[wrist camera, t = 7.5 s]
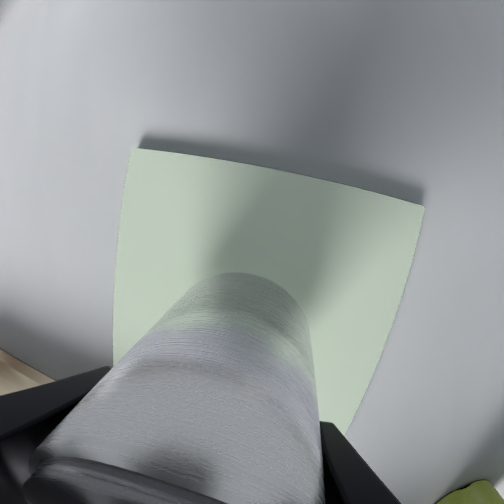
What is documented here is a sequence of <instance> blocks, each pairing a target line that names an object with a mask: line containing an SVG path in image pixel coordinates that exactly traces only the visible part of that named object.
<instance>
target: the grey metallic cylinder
mask: <svg viewBox="0 0 504 504" xmlns="http://www.w3.org/2000/svg"><path fill="white" fill-rule="evenodd" d="M28 469H29V473H30V477H29V478H28V479H27V480H26V482H25V483H24V485H23V495H24V497H25V500H26V502H27V504H325V490H324V474H323V459H322V446H321V433H320V421H319V410H318V400H317V390H316V380H315V370H314V361H313V352H312V344H311V335H310V329H309V325H308V321H307V319H306V316H305V314H304V312H303V310H302V308H301V307H300V305H299V304H298V303H297V301H296V300H295V299H294V298H293V297H292V296H291V295H290V294H289V293H288V292H287V291H286V290H285V289H283V288H282V287H281V286H279V285H277V284H276V283H274V282H272V281H270V280H268V279H266V278H263V277H260V276H257V275H253V274H248V273H237V272H231V273H222V274H218V275H214V276H211V277H208V278H206V279H204V280H202V281H200V282H198V283H197V284H195V285H194V286H193V287H191V288H190V289H189V290H188V291H187V292H186V293H185V294H184V295H183V296H182V297H181V298H180V299H179V300H178V301H177V302H176V303H175V304H174V305H173V306H172V307H171V308H170V309H169V310H168V311H167V312H166V313H165V314H164V315H163V316H162V317H161V318H160V319H159V320H158V321H157V322H156V323H155V324H154V326H153V327H152V328H151V329H150V330H149V331H148V332H147V333H146V334H145V335H144V336H143V337H142V338H141V339H140V340H139V341H138V342H137V343H136V344H135V345H134V346H133V347H132V348H131V349H130V350H129V351H128V352H127V353H126V354H125V355H124V356H123V357H122V358H121V359H120V360H119V362H118V363H117V364H116V365H115V366H114V367H113V368H112V369H111V370H110V371H109V372H108V373H107V374H106V375H105V376H104V377H103V378H102V379H101V380H100V381H99V382H98V383H97V384H96V386H95V387H94V388H93V389H92V390H91V391H90V392H89V393H88V394H87V395H86V396H85V397H84V398H83V399H82V400H81V401H80V402H79V403H78V404H77V406H76V407H75V408H74V409H73V410H72V411H71V412H70V413H69V414H68V415H67V416H66V417H65V418H64V419H63V420H62V421H61V423H60V424H59V425H58V426H57V427H56V428H55V429H54V430H53V431H52V432H51V433H50V434H49V435H48V436H47V438H46V439H45V440H44V441H43V442H42V443H41V444H40V445H39V446H38V447H37V448H36V449H35V451H34V452H33V453H32V454H31V455H30V458H29V461H28Z"/></svg>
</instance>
